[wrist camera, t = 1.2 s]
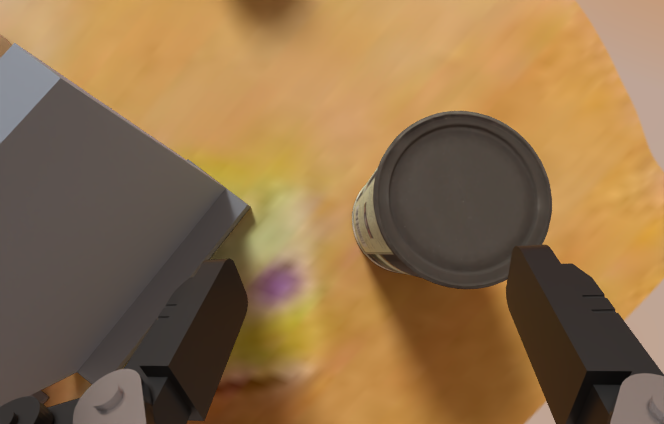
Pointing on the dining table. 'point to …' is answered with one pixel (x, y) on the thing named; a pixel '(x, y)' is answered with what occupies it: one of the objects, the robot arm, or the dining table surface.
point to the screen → (89, 229)
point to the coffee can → (453, 201)
